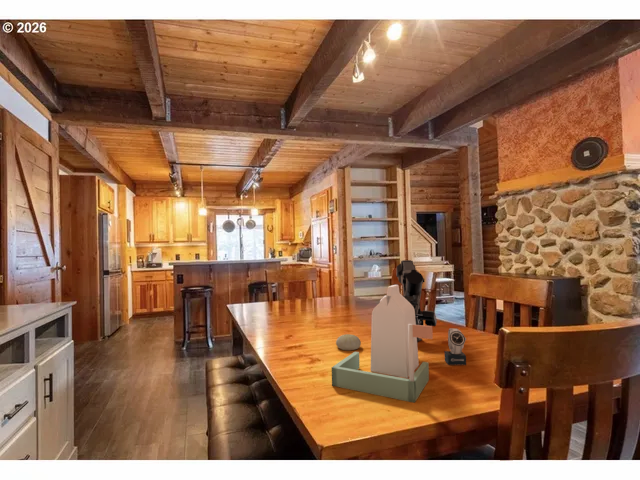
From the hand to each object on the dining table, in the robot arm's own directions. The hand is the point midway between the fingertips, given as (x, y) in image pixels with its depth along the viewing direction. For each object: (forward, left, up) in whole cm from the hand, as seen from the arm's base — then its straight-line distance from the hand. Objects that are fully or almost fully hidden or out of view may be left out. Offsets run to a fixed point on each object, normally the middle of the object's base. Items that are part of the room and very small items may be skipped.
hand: (404, 337), depth 118 cm
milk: (+10, +3, -7) cm, 13 cm away
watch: (-7, +15, -7) cm, 18 cm away
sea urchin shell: (+3, -22, -8) cm, 24 cm away
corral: (+22, +8, -7) cm, 25 cm away
